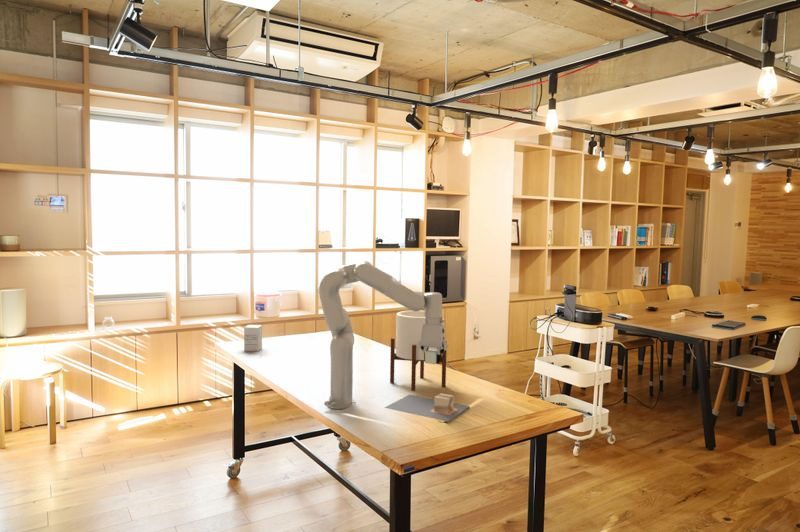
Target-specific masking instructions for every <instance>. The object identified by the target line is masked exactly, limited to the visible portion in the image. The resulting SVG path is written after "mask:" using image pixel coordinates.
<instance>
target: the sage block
mask: <svg viewBox="0 0 800 532" xmlns="http://www.w3.org/2000/svg"><path fill="white" fill-rule="evenodd" d="M437 354H438V353H437V350H431V349H430V350H428V351H425V362H424V364H430V365H438V364H437V363H436V357H437Z"/></svg>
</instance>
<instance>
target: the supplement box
mask: <svg viewBox="0 0 800 532" xmlns="http://www.w3.org/2000/svg"><path fill="white" fill-rule="evenodd" d="M243 332H244V333H243V334H244V335H243V340H244V341H243V343H244V344H243V345H244V347H243V348H244V349H243V351H245V352H259V351H260V350H261V349H262V348H263V325H261V324H248V325H246V326H244V327H243Z"/></svg>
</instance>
